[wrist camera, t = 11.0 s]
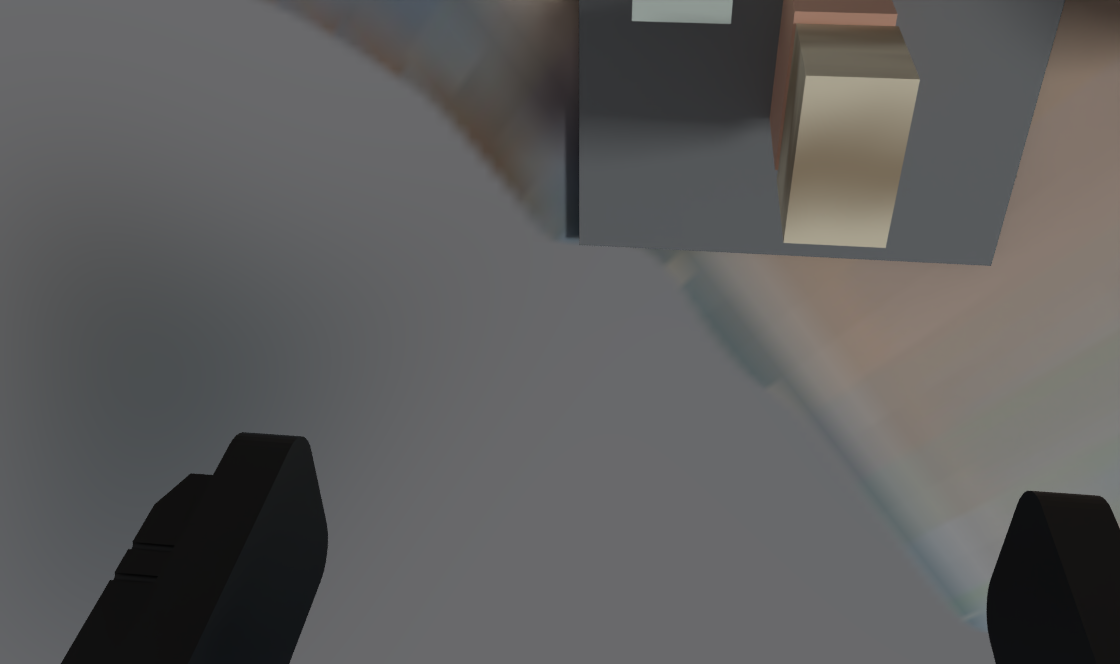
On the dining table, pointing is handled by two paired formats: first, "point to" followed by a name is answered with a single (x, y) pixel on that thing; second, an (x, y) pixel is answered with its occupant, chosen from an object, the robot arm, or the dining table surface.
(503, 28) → the dining table surface
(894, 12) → the terracotta brick
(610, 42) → the charcoal mat
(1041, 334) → the dining table surface
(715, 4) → the grey green brick
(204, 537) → the robot arm
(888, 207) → the maple brick
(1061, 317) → the dining table surface
